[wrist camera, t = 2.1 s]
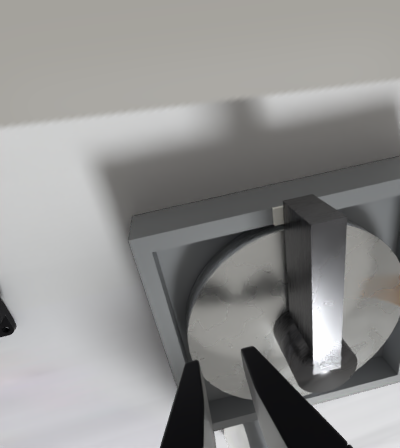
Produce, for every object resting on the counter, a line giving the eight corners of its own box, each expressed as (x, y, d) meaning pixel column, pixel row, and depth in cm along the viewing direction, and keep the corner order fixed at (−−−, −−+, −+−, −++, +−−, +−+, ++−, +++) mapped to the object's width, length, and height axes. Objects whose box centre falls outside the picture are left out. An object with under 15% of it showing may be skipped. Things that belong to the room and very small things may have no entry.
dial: (379, 356, 24) (430, 416, 20) (205, 401, 24) (217, 474, 19) (404, 158, 17) (494, 182, 13) (154, 214, 16) (154, 261, 12)
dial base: (189, 397, 26) (193, 439, 23) (132, 216, 18) (127, 242, 15) (379, 347, 27) (409, 382, 24) (404, 155, 19) (453, 168, 16)
